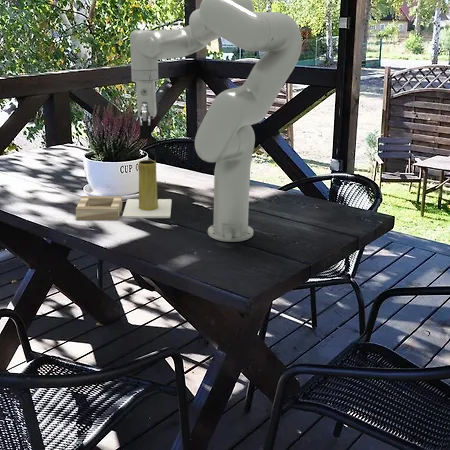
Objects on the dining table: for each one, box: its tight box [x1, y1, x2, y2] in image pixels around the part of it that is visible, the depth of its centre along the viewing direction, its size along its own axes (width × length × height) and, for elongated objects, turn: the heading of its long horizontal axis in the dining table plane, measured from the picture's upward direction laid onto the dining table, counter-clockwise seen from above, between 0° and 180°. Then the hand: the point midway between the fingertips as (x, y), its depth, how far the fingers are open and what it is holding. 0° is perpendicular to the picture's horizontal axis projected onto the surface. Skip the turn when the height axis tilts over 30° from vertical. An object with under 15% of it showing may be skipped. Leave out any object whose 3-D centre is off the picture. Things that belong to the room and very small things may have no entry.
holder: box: [75, 195, 123, 221], centre depth 179 cm, size 12×12×4 cm
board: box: [121, 198, 173, 219], centre depth 184 cm, size 16×14×1 cm
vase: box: [138, 159, 159, 210], centre depth 181 cm, size 6×6×14 cm
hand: (147, 135), depth 176 cm, fingers open, 9 cm apart
